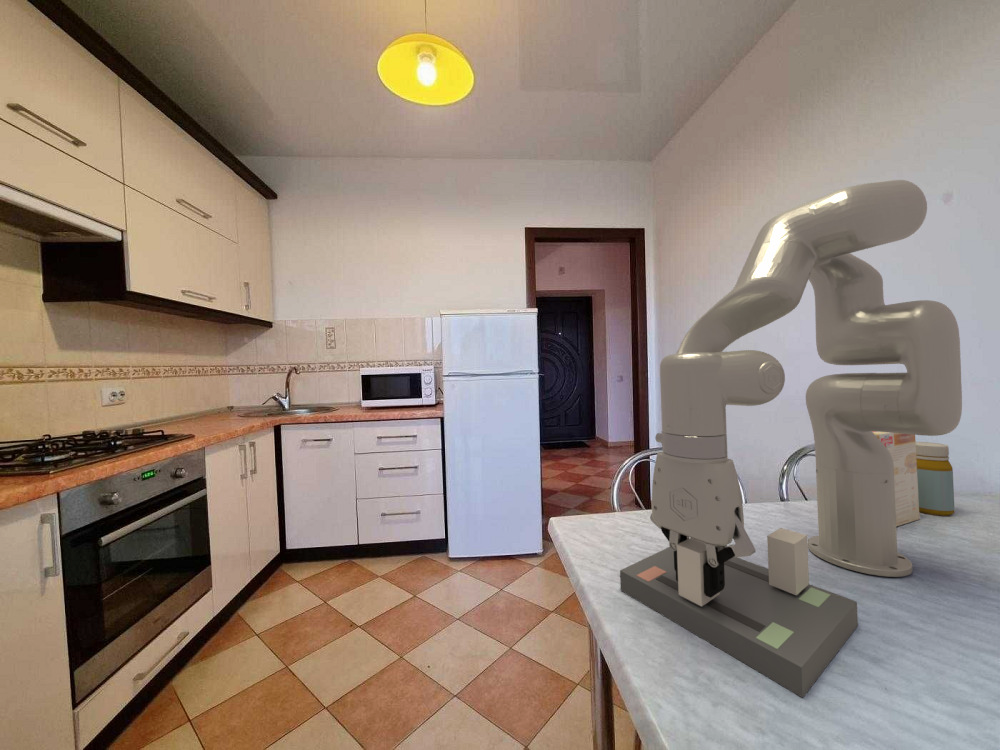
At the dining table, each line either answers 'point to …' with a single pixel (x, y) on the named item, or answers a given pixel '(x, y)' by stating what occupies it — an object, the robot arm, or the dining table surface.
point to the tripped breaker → (692, 571)
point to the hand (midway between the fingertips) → (698, 584)
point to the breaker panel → (752, 618)
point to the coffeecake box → (903, 474)
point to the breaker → (788, 560)
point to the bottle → (934, 479)
